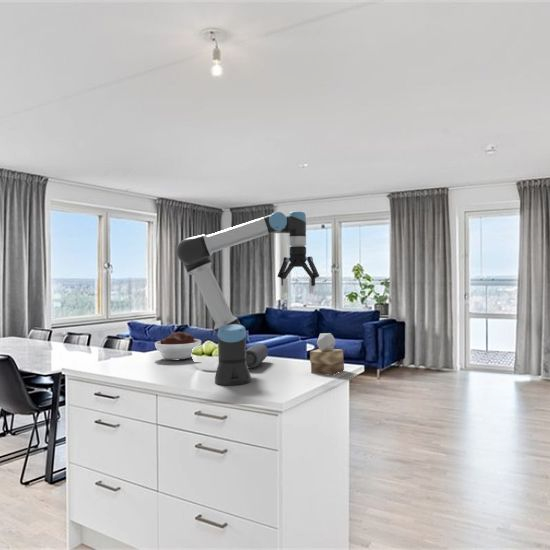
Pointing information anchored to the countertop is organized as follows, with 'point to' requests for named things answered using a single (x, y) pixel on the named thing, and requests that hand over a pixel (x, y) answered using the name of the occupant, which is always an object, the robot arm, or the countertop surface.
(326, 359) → the oak slab
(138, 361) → the countertop surface
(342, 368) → the walnut slab
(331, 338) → the die
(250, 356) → the bluetooth speaker
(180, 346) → the white filled bowl
